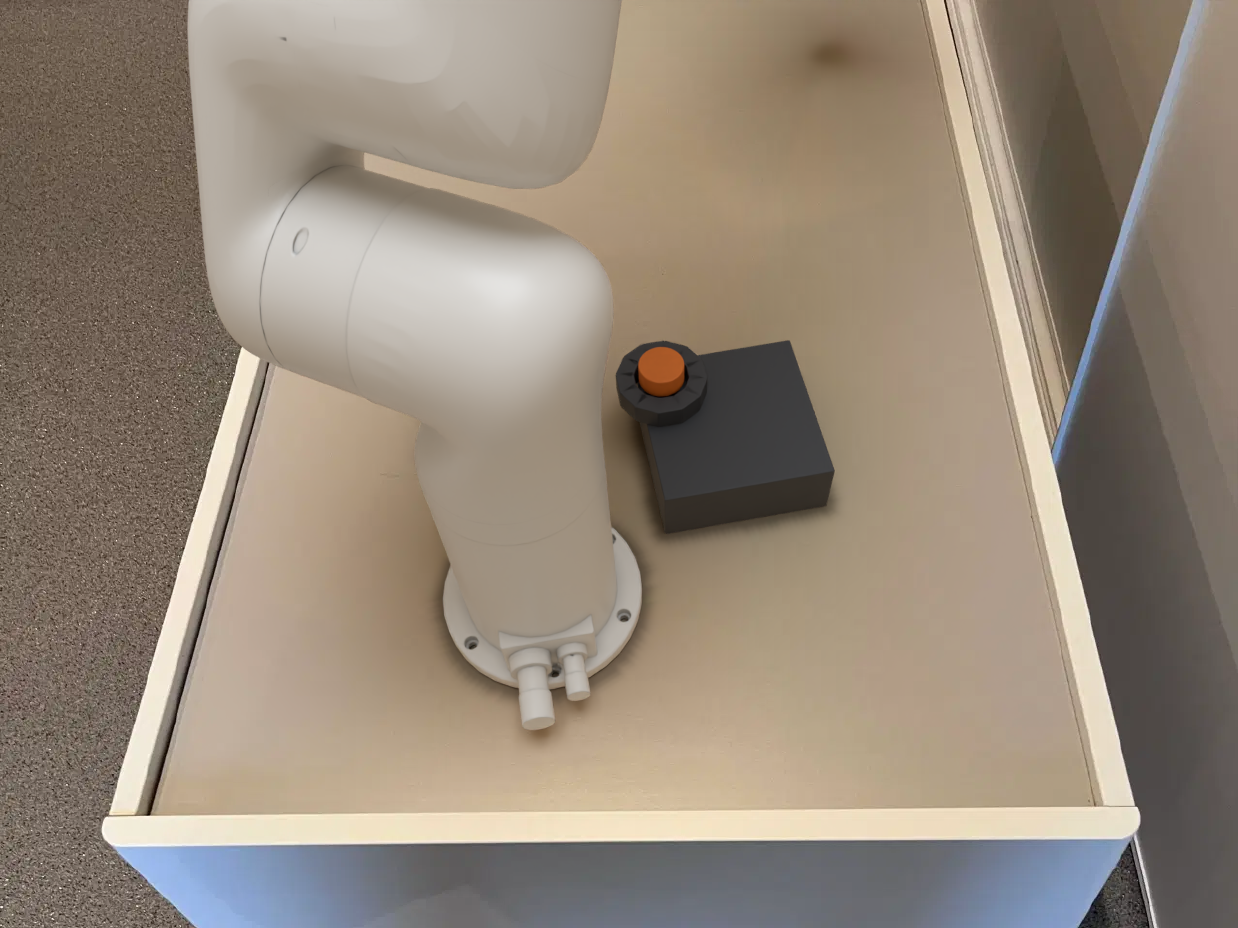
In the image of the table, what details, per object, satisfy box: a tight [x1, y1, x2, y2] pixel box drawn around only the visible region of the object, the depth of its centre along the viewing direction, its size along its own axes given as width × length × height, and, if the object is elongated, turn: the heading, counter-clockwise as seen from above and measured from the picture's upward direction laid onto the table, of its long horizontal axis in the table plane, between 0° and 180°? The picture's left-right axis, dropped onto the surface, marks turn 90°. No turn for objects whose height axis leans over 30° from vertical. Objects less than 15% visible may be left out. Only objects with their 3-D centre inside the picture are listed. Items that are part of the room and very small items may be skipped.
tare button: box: [638, 347, 684, 397], centre depth 69 cm, size 3×3×2 cm
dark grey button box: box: [615, 339, 835, 535], centre depth 70 cm, size 11×12×6 cm
